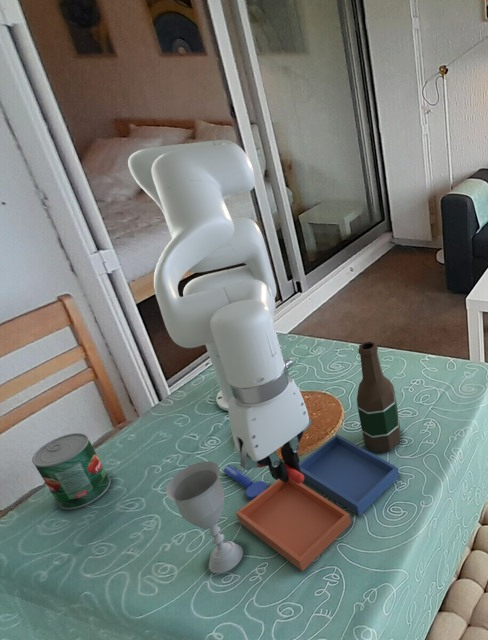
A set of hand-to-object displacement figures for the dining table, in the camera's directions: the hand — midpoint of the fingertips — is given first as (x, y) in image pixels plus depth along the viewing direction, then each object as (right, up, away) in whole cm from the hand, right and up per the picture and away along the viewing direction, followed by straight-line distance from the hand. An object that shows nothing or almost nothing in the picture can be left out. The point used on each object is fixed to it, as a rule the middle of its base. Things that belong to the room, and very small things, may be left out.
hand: (287, 473), depth 81 cm
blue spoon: (-15, -8, +15) cm, 22 cm away
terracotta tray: (-2, -11, +7) cm, 14 cm away
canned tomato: (-44, -9, +14) cm, 47 cm away
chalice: (-11, -15, +1) cm, 18 cm away
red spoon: (-2, 0, +1) cm, 2 cm away
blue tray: (+5, -7, +16) cm, 18 cm away
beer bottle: (+9, -3, +25) cm, 26 cm away
